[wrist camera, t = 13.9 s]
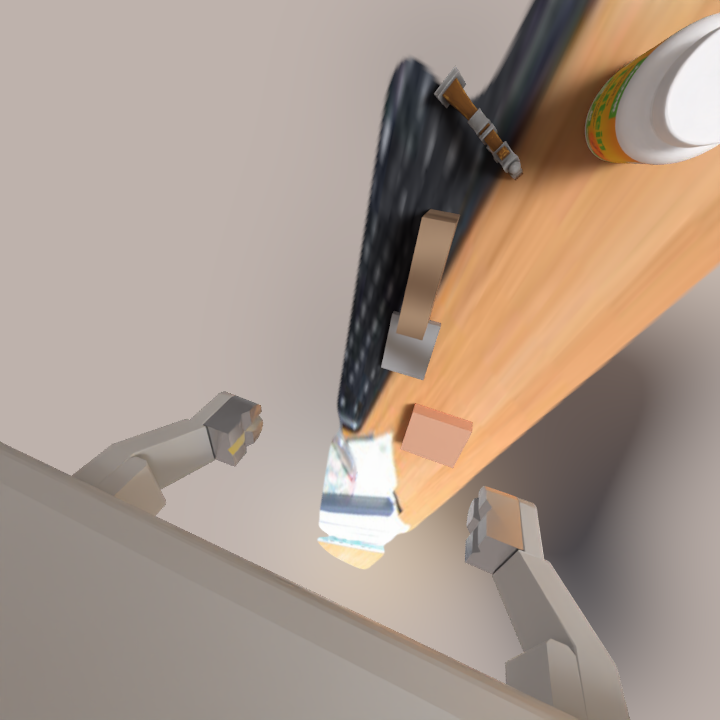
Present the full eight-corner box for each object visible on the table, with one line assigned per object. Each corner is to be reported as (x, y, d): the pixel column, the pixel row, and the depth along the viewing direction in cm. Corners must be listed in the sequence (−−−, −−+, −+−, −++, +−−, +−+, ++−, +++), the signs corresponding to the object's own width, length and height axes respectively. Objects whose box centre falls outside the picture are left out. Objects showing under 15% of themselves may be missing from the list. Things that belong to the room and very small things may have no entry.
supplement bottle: (590, 72, 19) (661, 14, 11) (706, 38, 17) (887, -59, 9) (577, 171, 22) (628, 178, 14) (676, 152, 20) (799, 148, 12)
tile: (412, 412, 36) (400, 449, 40) (472, 431, 35) (452, 468, 39) (415, 401, 38) (403, 437, 42) (472, 419, 37) (454, 455, 41)
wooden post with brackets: (514, 196, 23) (502, 179, 19) (454, 120, 24) (432, 92, 21) (538, 175, 22) (529, 154, 18) (474, 97, 23) (454, 63, 20)
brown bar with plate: (416, 206, 26) (405, 213, 23) (475, 217, 25) (473, 227, 22) (382, 363, 36) (371, 386, 33) (424, 376, 35) (417, 400, 32)
